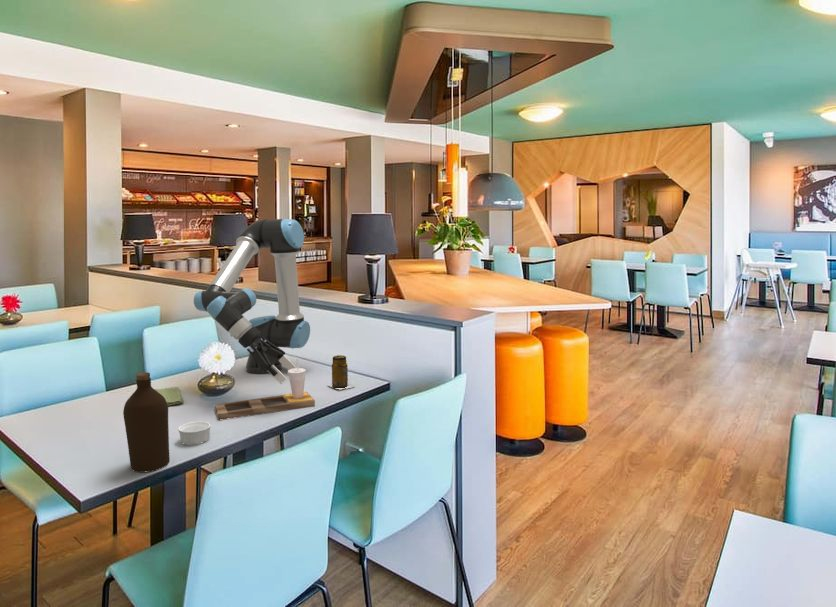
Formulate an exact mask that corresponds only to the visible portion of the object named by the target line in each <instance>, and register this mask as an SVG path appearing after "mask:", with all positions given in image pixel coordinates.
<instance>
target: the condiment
mask: <svg viewBox="0 0 836 607" xmlns="http://www.w3.org/2000/svg"><path fill="white" fill-rule="evenodd" d="M348 369H349V368H348V363H347V356H345V355H339V354H338V355H334V356H333V357H332V364H331V385H332V387H333V388H332V389H334V390H336V391H341V390H339V389H335V388H345V387H347V386H348V385H349V384H348V382H349V379H348V376H349V375H348V374H349V373H348Z"/></svg>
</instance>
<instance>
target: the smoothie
mask: <svg viewBox="0 0 836 607" xmlns="http://www.w3.org/2000/svg"><path fill="white" fill-rule="evenodd" d="M299 365H300V364H299V358H296V367H297V368H293V369H290V370H288V369H287V375H288V379H289V383H290V384H289V385H290V390H291V394H292V396H293V398H302V397H303V395H304V392H305V380H306V373H307V370H306V368H302V367H300V366H299Z"/></svg>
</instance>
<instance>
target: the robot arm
mask: <svg viewBox="0 0 836 607" xmlns="http://www.w3.org/2000/svg"><path fill="white" fill-rule="evenodd" d="M304 241H305V235H304V230H303V227H302V226H301V224H300V223H299V221H297V220H296V219H292V218H291V219H289V218H276V219H275V218H274V219H272V218H271V219H268V218H267V219H266V218H265V219H264V218H263V219H259V220H256V221H254V222H252V223H251V224H250V225H248V226H247V227H246V228H245V229H244V230H242V231H241V233H240V234H239V236H238V237H237V239H236V241H235V242H236V243H235V246H234V247H233V249H232V251H231V252H230V254H229V255H228V257H227V258H226V260H225V261H224V263H223V264H222V266H221V267H220V269H219V270H218V271H217V273H216V275H215V276H214V278H213V279H212V280H211V282H210V283H209V285H208V286H207V288H206V290H199V291H197V292H196V293H195V294H194V296H193V305H194V307H195V308H196V310H198V311H200V312H207V314H209V315H210V316H211V318H212V320H215V321H216V322H217V323H218V324H219V325H220V326H221V327H222V328H223V329H224V330H225V331H226V332H228V333H229V334H230V337H233V338H234V339H235V340H237V342H238V344H240V345H241V346H242V347H243V348H244V349H246V351H247V352H248V353H249V354H248V357H247V361H246V365H245V371H246V372H247V373H250V374H259V375H260V374H262V375H263V374H270V375H271V376H272V377H273V378H274V379H275V380H276V381H277V382H278V383H279V384H280V385H281V384H283V383H284V382H285V381H286V380H287V379H288V378H287V376H285V375H284V374H283V373H282V372H281V370H282V369H283V367H284V368H285V369H286V370H287V371H288V370H290V369H293V368H297V365H295V364H294V363H293V362H292V361H291V360H290V359H289V358H288V357H286V356H285V355H286V352H285V351H284V350H282V349H281V348H288V349H302V348H304V347H305V346H306V345H307V343H308V341H309V338H310V335H311V325H310V323H309V321H307V320H305V318H304V317H305V316H304V314H303V313H301V310H300V309H301V308H300V297H299V296H300V295H299V282H298V268H297V267H298V266H297V255H298V254H299V253H300V248H302V247H303V245H304ZM264 248H267V249H269V252H270V254H271V255H272V256H273V257H274V265H275V268H274V269H275V281H276V290H277V292H276V293H277V304H278V306H277V308H278V314H277V315H273V314H272V315H265V316H257V317H253V318H251V319H249V320H248V319H247V318H246V317H245V316H244V314H245V313H247V312H248V311H249V310H250V311H251V309H253V307H255V305H256V303H257V295H256V293H255V292H254V291H253V290H252V289H250V288H243V289H240V290H238V291H231V290H232V289H233V287H234V286H235V285H236V283H237V281H238V280H239V278H240V276H241V275H242V274H243V271H244V270H245V268H246V267H247V265H248V264H249V262H250V261H251V259H252V258H253V256H255V255H257V254H258V253H259V251H260V250H261V249H264Z"/></svg>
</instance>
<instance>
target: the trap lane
mask: <svg viewBox="0 0 836 607" xmlns="http://www.w3.org/2000/svg"><path fill="white" fill-rule="evenodd" d="M315 406H316V400H315V399H314V398H313V397H312V396H311V395H310V393H309V392H307V391H304V395H303V397H302V398H293V396H292V393H286V394H280V395H273V396H267V397H265V396H264V397H259V398H251V399H245V400H238V401H231V402H223V403H216V404H214V412H215V414H217V415H216V417H217V420H218V421H221V420H220V419H223V420H228V419H227V418H230V419H235V418H234V417H237V418H241V416H244V417H247V416H248V415H250V416H256V415H255V414H257V415H263V414H262V413H264V414H269V413H268V412H270V413H274V412H275V411H277V412H283V410H284V411H289V410H290V411H291V410H296V409H303V408H309V407H315ZM275 413H276V412H275ZM248 417H249V416H248Z"/></svg>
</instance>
